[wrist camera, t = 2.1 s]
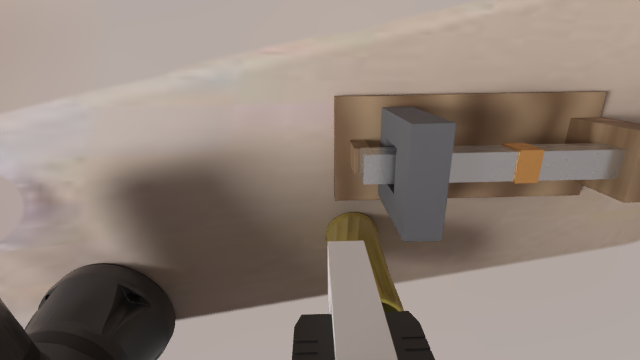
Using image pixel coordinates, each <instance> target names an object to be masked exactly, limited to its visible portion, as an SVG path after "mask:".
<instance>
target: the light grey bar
mask: <svg viewBox="0 0 640 360" xmlns="http://www.w3.org/2000/svg"><path fill="white" fill-rule="evenodd" d="M625 151H626V150H625V149H621V148H617V147H614V146H610V145H606V144H602V143H572V144H526V143H501V145H474V146H453V153H452V161H451V170H450V178H449V183H457V182H502V181H511V182H513V183H538V181H547V180H593V179H617V177H618V174H619V171H620V167H621V164H622V161H623V157H624V154H625ZM396 153H397V148H396V147H377V148H360V162H359V176H360V178H361V180H362V183H363V185H366V184H395V169H396Z"/></svg>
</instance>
